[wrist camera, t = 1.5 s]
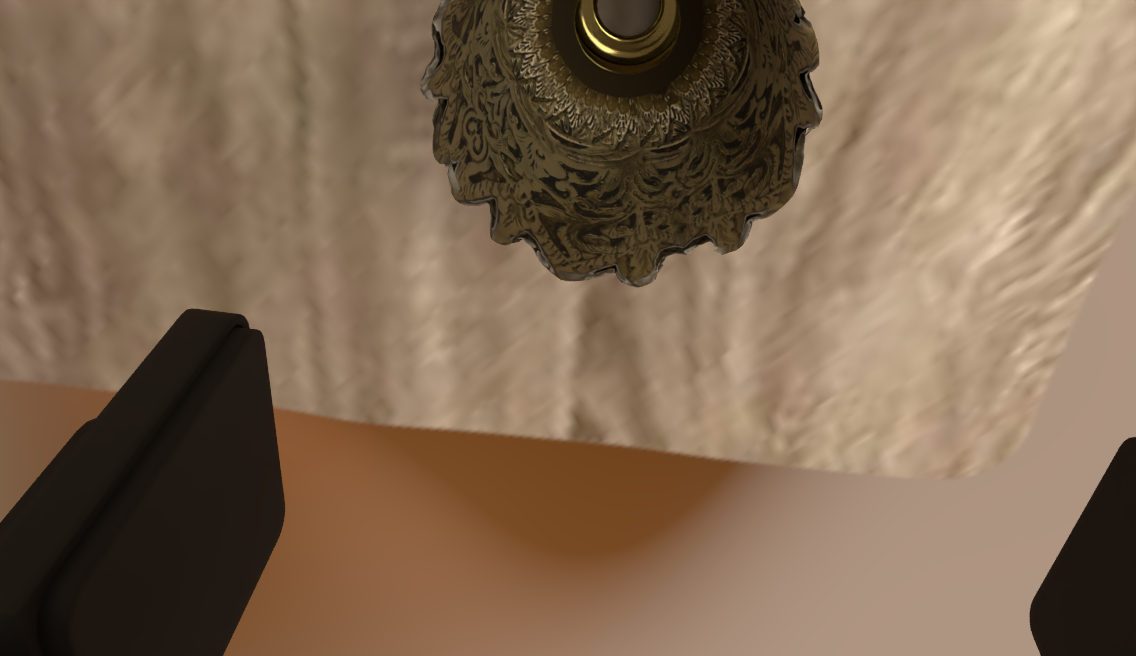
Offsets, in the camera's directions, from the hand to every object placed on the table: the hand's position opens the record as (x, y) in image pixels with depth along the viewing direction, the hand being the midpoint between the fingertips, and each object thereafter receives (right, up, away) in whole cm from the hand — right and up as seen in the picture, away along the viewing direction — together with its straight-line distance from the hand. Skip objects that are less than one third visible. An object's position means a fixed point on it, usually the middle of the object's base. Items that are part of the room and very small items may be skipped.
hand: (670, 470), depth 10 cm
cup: (0, +10, +13) cm, 17 cm away
